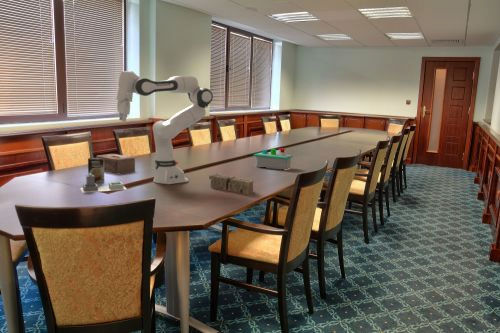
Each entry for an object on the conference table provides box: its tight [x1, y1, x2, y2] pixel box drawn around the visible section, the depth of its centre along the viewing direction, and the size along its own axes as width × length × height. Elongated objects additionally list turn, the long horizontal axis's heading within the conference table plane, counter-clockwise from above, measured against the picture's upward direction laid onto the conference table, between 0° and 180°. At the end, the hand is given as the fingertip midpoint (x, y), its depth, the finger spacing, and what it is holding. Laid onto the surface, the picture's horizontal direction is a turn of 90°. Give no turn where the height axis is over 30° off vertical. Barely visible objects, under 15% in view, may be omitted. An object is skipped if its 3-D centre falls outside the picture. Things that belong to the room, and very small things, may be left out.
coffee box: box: [87, 157, 105, 184], centre depth 253 cm, size 9×6×16 cm
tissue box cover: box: [95, 153, 136, 175], centre depth 300 cm, size 26×14×10 cm, turn 54°
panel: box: [80, 181, 127, 194], centre depth 237 cm, size 24×12×4 cm, turn 118°
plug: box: [85, 174, 96, 187], centre depth 233 cm, size 4×4×9 cm
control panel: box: [253, 147, 294, 170], centre depth 331 cm, size 15×16×30 cm
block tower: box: [208, 172, 254, 195], centre depth 253 cm, size 8×8×29 cm
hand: (122, 121), depth 249 cm, fingers open, 8 cm apart
